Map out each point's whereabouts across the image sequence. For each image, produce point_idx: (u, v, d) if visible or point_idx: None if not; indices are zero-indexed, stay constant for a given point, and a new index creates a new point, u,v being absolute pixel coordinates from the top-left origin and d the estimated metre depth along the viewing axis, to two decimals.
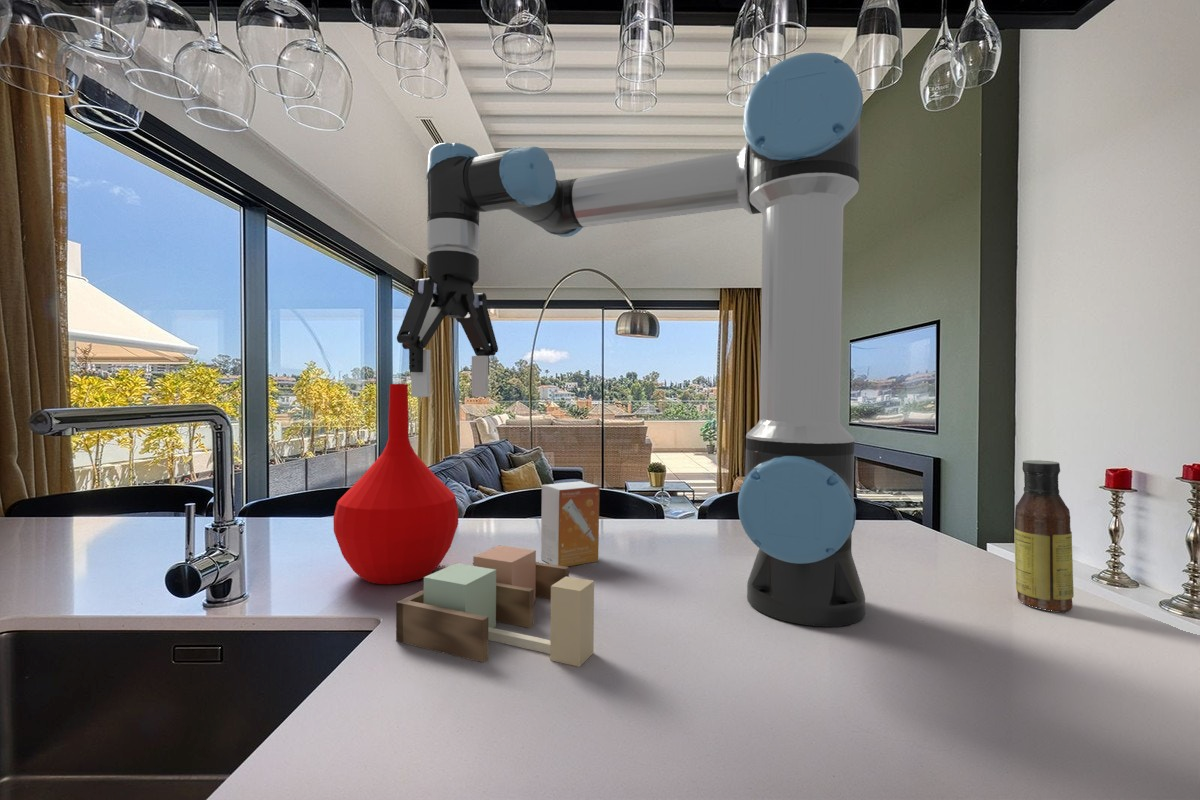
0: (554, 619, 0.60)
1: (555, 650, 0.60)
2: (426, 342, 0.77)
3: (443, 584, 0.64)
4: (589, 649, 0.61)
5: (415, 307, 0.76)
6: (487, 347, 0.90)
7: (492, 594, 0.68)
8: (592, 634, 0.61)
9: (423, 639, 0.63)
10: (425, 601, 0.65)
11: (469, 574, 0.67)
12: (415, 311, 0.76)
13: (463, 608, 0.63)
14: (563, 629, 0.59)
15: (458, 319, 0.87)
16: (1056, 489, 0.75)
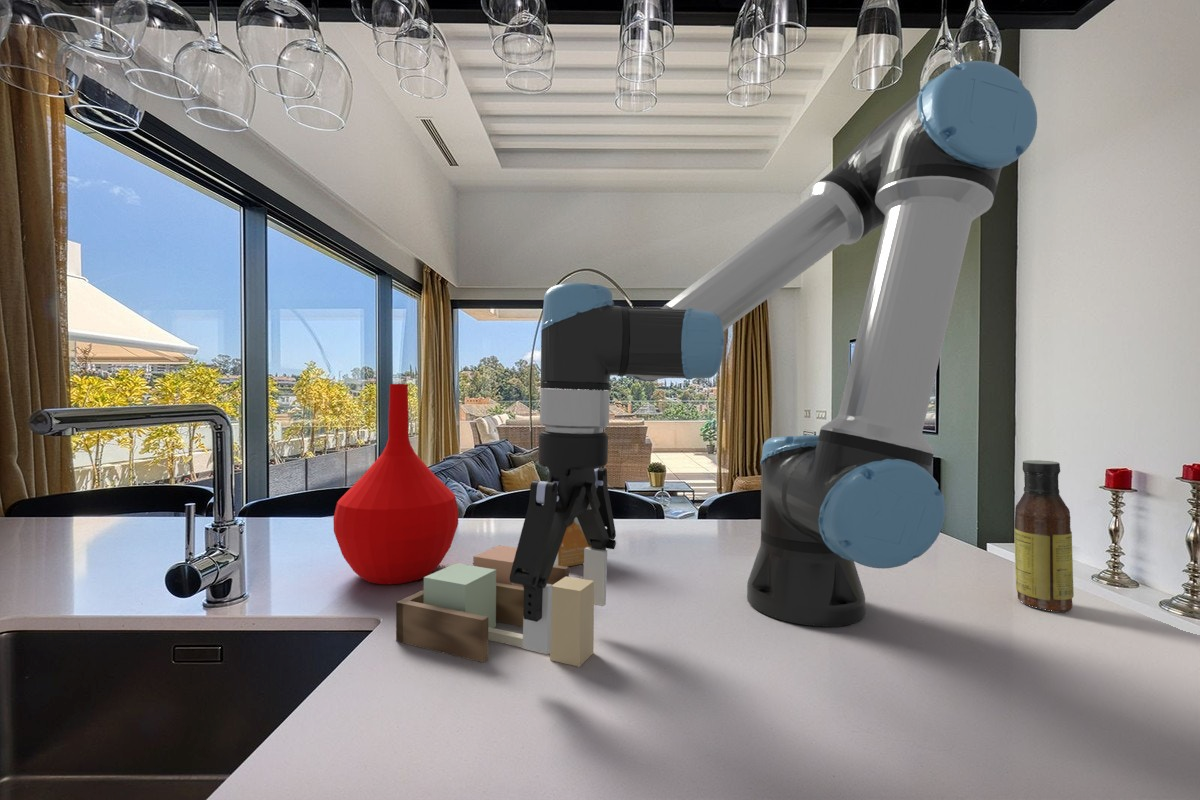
0: (554, 619, 0.60)
1: (555, 650, 0.60)
2: (548, 576, 0.54)
3: (443, 584, 0.64)
4: (589, 649, 0.61)
5: (534, 527, 0.53)
6: (606, 538, 0.67)
7: (492, 594, 0.68)
8: (592, 634, 0.61)
9: (423, 639, 0.63)
10: (425, 601, 0.65)
11: (469, 574, 0.67)
12: (535, 535, 0.53)
13: (463, 608, 0.63)
14: (563, 629, 0.59)
15: None
16: (1056, 489, 0.75)
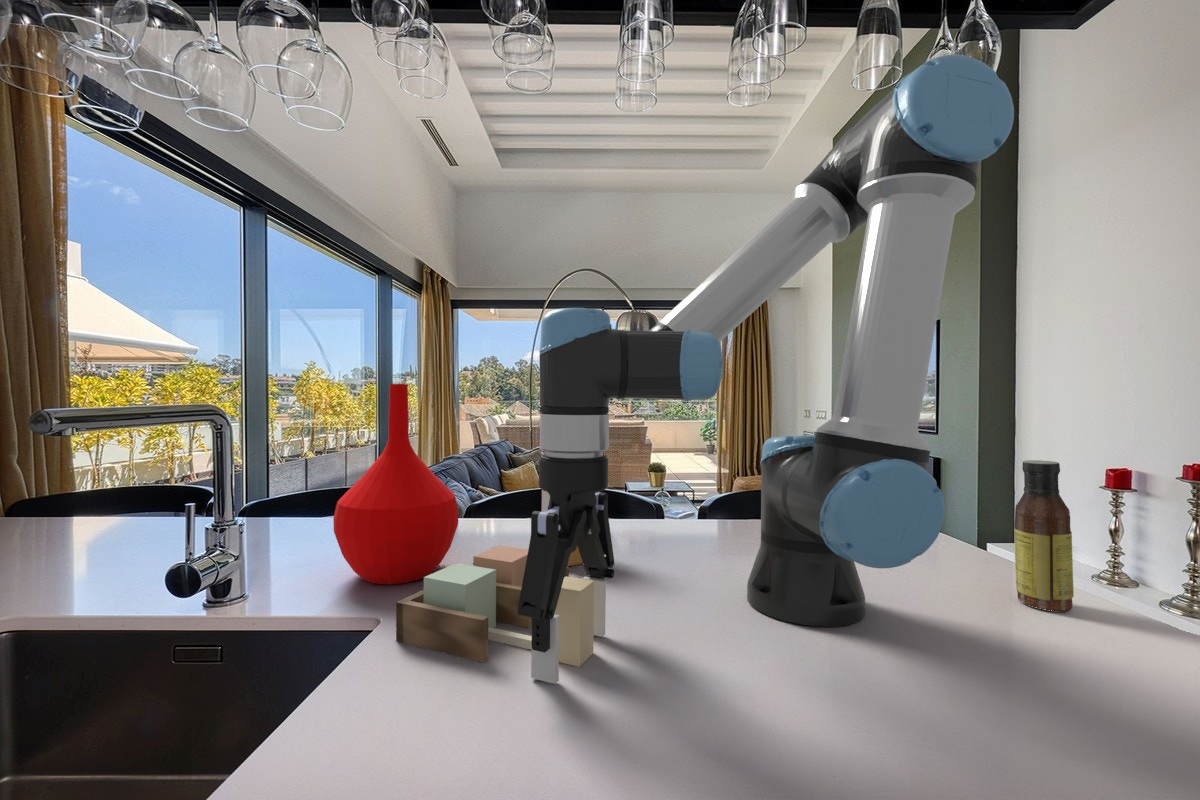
0: None
1: None
2: (555, 606, 0.55)
3: (443, 584, 0.64)
4: (589, 649, 0.61)
5: (538, 560, 0.54)
6: (604, 567, 0.66)
7: (492, 594, 0.68)
8: (592, 634, 0.61)
9: (423, 639, 0.63)
10: (425, 601, 0.65)
11: (469, 574, 0.67)
12: (539, 568, 0.53)
13: (463, 608, 0.63)
14: (563, 629, 0.59)
15: None
16: (1056, 489, 0.75)
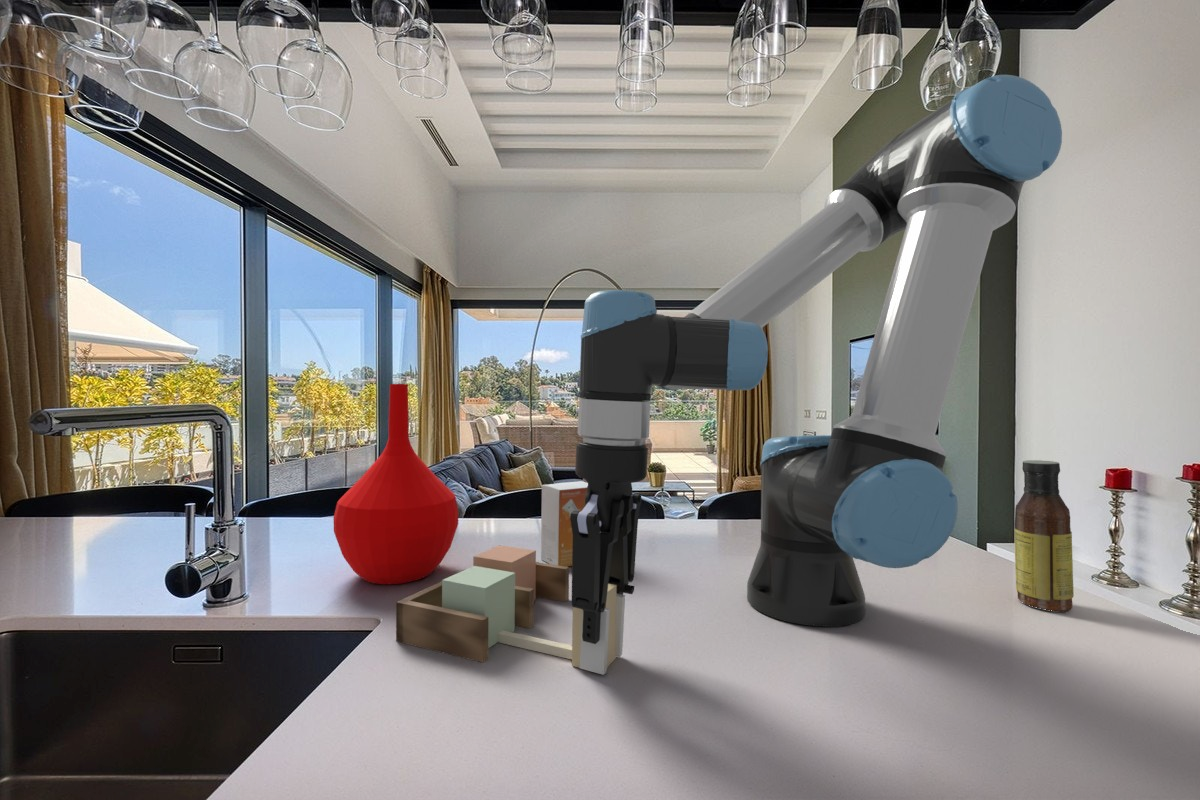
0: (576, 624, 0.59)
1: (577, 656, 0.58)
2: (605, 598, 0.56)
3: (462, 588, 0.63)
4: (611, 655, 0.59)
5: (584, 559, 0.54)
6: (625, 579, 0.61)
7: (511, 598, 0.67)
8: (614, 639, 0.60)
9: (423, 639, 0.63)
10: (443, 604, 0.64)
11: (488, 577, 0.65)
12: (586, 567, 0.54)
13: (483, 612, 0.62)
14: None
15: None
16: (1056, 489, 0.75)
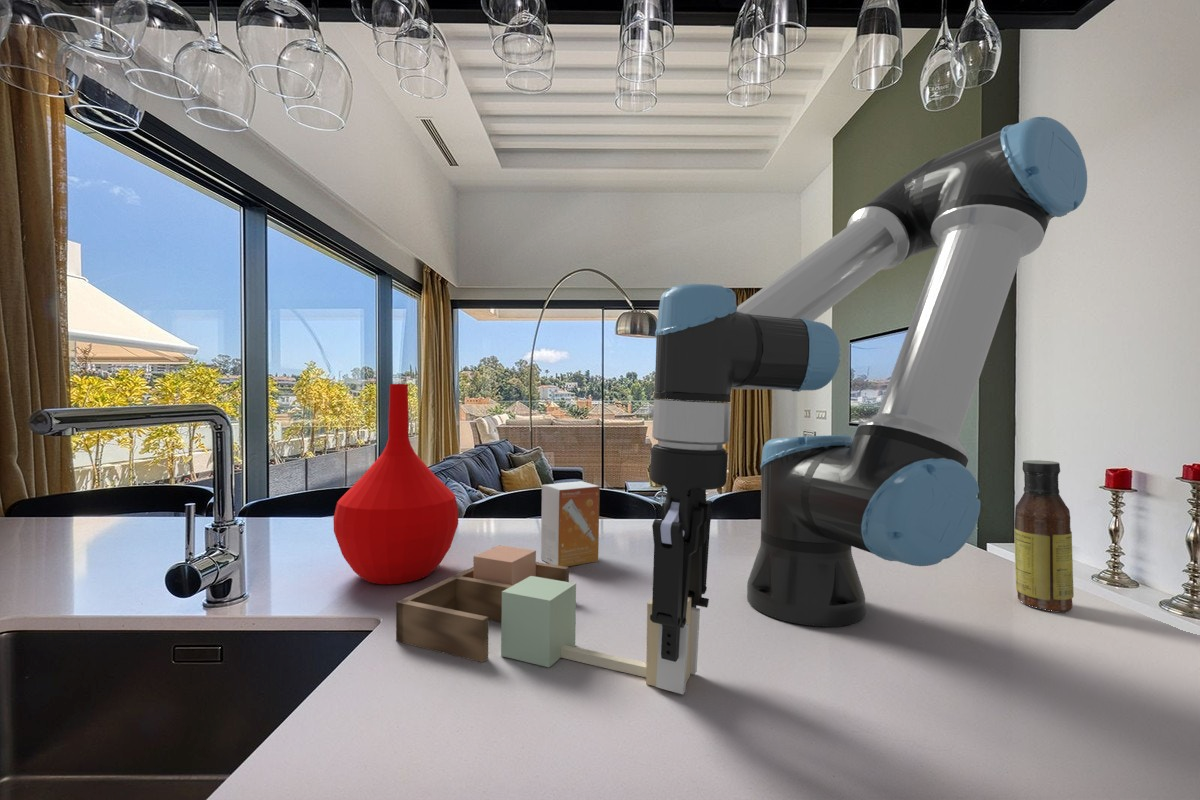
0: (651, 639, 0.55)
1: (652, 673, 0.55)
2: (685, 613, 0.53)
3: (524, 600, 0.59)
4: (687, 673, 0.56)
5: (666, 571, 0.50)
6: (700, 592, 0.58)
7: (572, 610, 0.63)
8: (689, 656, 0.57)
9: (423, 639, 0.63)
10: (503, 617, 0.61)
11: (549, 588, 0.62)
12: (669, 579, 0.50)
13: (547, 626, 0.58)
14: None
15: None
16: (1056, 489, 0.75)
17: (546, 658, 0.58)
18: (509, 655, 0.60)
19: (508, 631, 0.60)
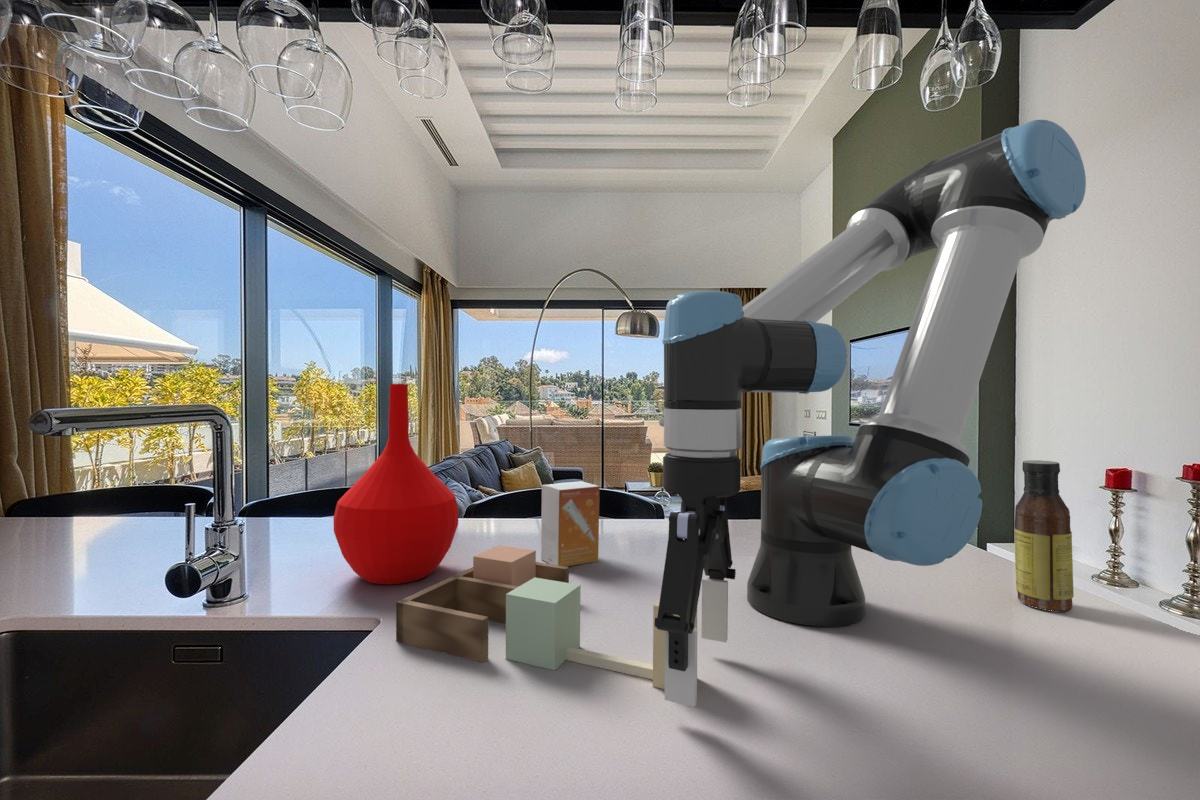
0: (657, 642, 0.55)
1: (658, 676, 0.55)
2: (694, 620, 0.48)
3: (529, 602, 0.59)
4: None
5: (678, 566, 0.48)
6: (726, 568, 0.61)
7: (577, 612, 0.63)
8: None
9: (423, 639, 0.63)
10: (508, 620, 0.60)
11: (554, 590, 0.61)
12: (681, 575, 0.47)
13: (553, 629, 0.58)
14: None
15: None
16: (1056, 489, 0.75)
17: (552, 660, 0.58)
18: (514, 658, 0.60)
19: (513, 634, 0.60)
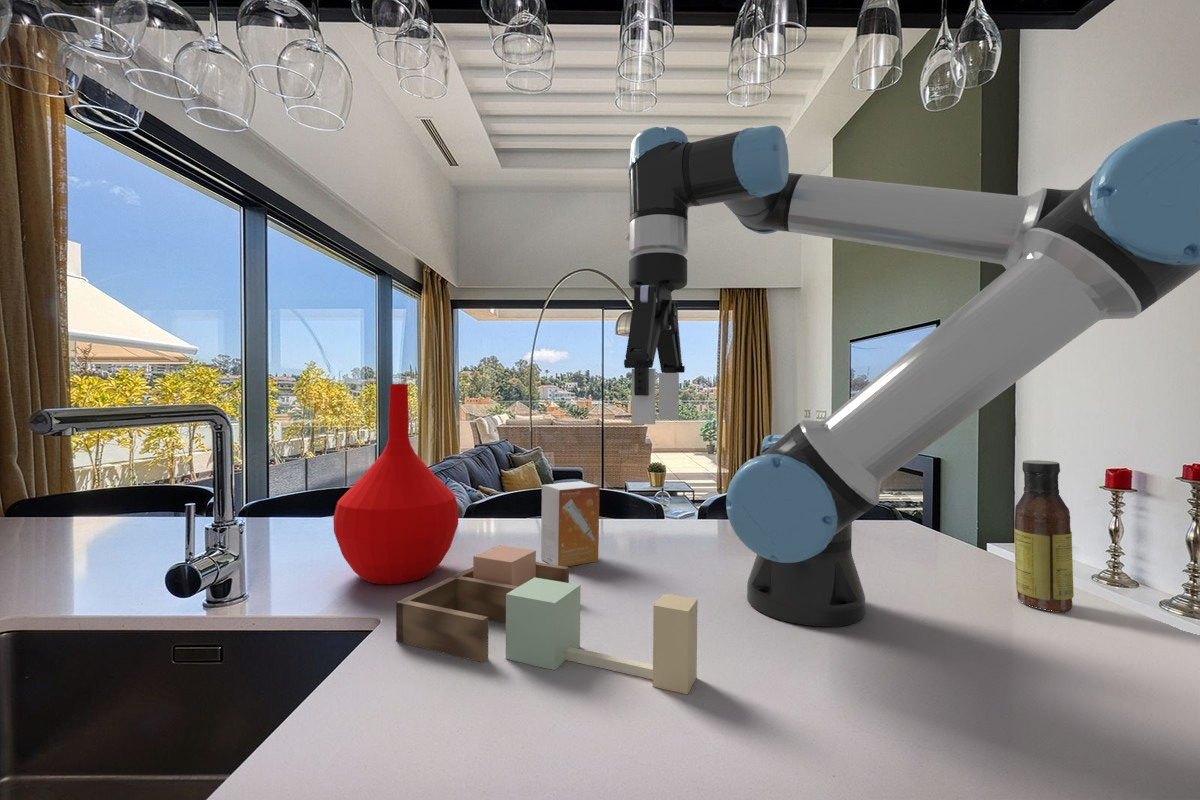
0: (657, 642, 0.55)
1: (658, 676, 0.55)
2: (653, 360, 0.65)
3: (529, 602, 0.59)
4: (693, 674, 0.56)
5: (641, 319, 0.65)
6: (677, 363, 0.79)
7: (577, 612, 0.63)
8: (696, 657, 0.56)
9: (423, 639, 0.63)
10: (508, 620, 0.60)
11: (554, 590, 0.61)
12: (643, 324, 0.64)
13: (553, 629, 0.58)
14: (668, 653, 0.54)
15: None
16: (1056, 489, 0.75)
17: (552, 660, 0.58)
18: (514, 658, 0.60)
19: (513, 634, 0.60)
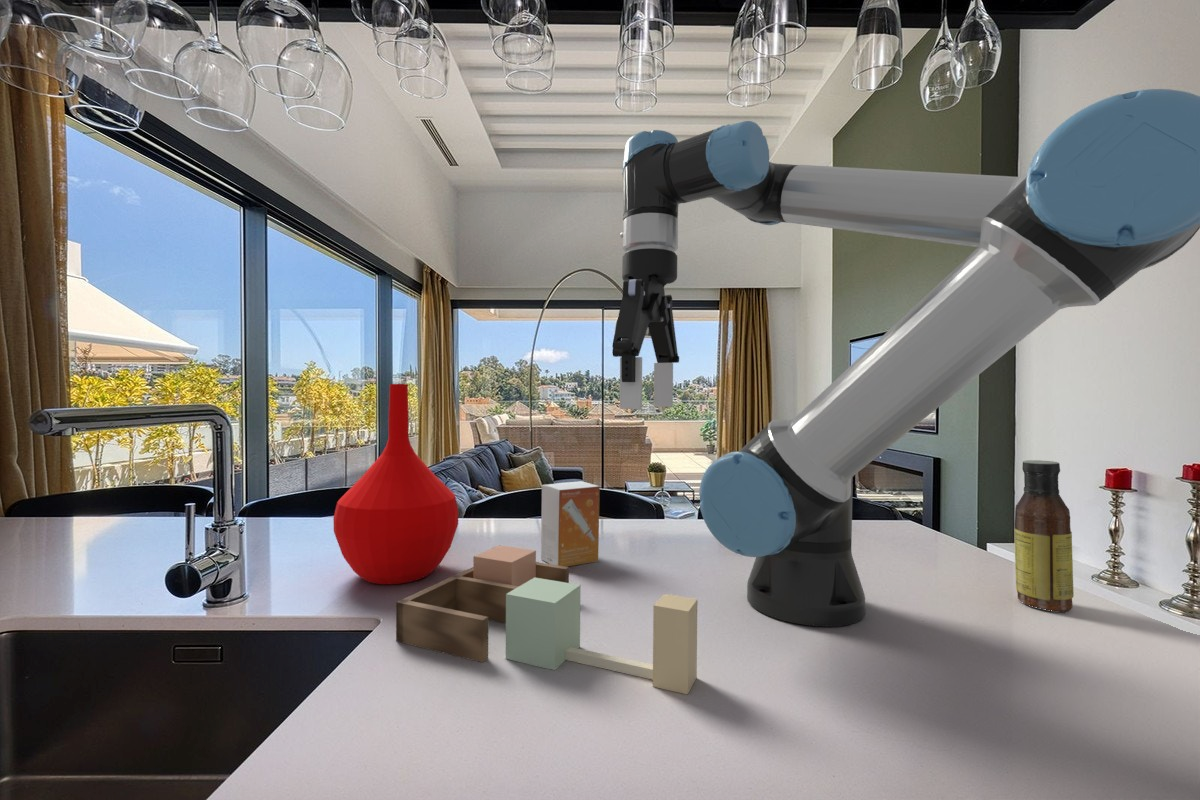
0: (657, 642, 0.55)
1: (658, 676, 0.55)
2: (639, 349, 0.70)
3: (529, 602, 0.59)
4: (693, 674, 0.56)
5: (628, 310, 0.69)
6: (672, 353, 0.83)
7: (577, 612, 0.63)
8: (696, 657, 0.56)
9: (423, 639, 0.63)
10: (508, 620, 0.60)
11: (554, 590, 0.61)
12: (630, 315, 0.69)
13: (553, 629, 0.58)
14: (668, 653, 0.54)
15: None
16: (1056, 489, 0.75)
17: (552, 660, 0.58)
18: (514, 658, 0.60)
19: (513, 634, 0.60)
